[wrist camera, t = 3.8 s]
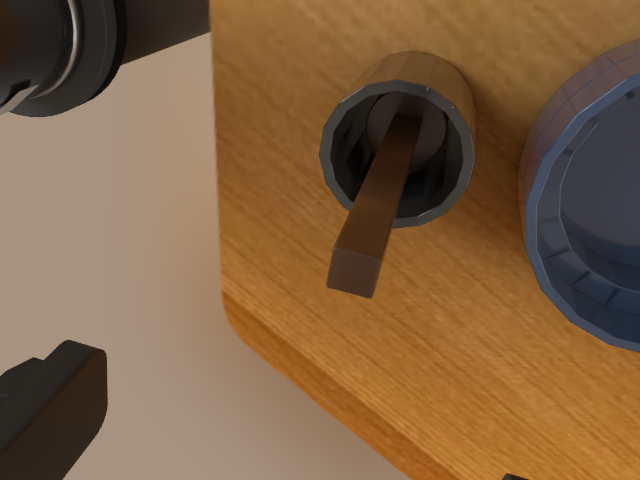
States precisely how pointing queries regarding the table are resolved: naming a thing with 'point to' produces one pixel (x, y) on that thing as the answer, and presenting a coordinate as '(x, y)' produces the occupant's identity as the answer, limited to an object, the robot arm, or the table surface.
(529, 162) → the mixing bowl
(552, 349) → the table surface
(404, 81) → the crock
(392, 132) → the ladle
